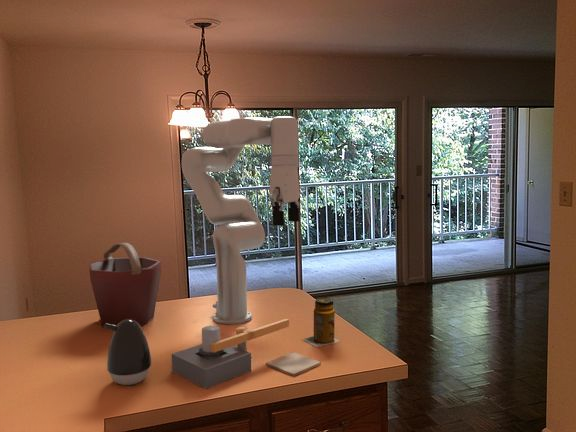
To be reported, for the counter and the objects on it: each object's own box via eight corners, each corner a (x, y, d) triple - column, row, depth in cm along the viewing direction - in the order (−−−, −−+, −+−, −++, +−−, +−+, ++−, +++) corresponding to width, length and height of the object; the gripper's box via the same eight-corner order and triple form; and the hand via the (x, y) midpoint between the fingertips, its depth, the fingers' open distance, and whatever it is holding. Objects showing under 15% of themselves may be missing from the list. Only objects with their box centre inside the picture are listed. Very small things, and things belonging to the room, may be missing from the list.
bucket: (91, 312, 180) (87, 240, 177) (157, 305, 189) (154, 236, 185) (93, 336, 158) (89, 253, 155) (168, 326, 166) (166, 248, 163)
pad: (265, 364, 137) (265, 362, 136) (292, 354, 144) (292, 351, 144) (293, 376, 130) (293, 374, 130) (320, 364, 137) (320, 362, 137)
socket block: (172, 371, 133) (171, 347, 132) (232, 350, 147) (231, 328, 146) (206, 388, 123) (205, 362, 122) (267, 364, 137) (266, 340, 136)
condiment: (340, 341, 153) (340, 301, 151) (317, 347, 148) (317, 306, 147) (325, 334, 159) (325, 295, 157) (302, 340, 154) (301, 299, 153)
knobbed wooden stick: (201, 347, 132) (200, 339, 131) (275, 322, 150) (275, 315, 150) (213, 352, 128) (213, 344, 128) (289, 326, 146) (288, 319, 146)
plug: (194, 371, 133) (193, 328, 131) (213, 364, 137) (212, 323, 136) (209, 378, 129) (208, 334, 127) (228, 371, 133) (227, 328, 132)
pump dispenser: (112, 372, 132) (109, 313, 130) (155, 370, 133) (152, 312, 131) (102, 391, 122) (98, 327, 120) (147, 389, 123) (145, 325, 121)
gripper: (286, 161, 156) (287, 219, 158) (257, 162, 141) (259, 226, 143) (309, 161, 153) (310, 220, 155) (283, 162, 138) (284, 227, 139)
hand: (286, 223), depth 149 cm, fingers open, 9 cm apart
